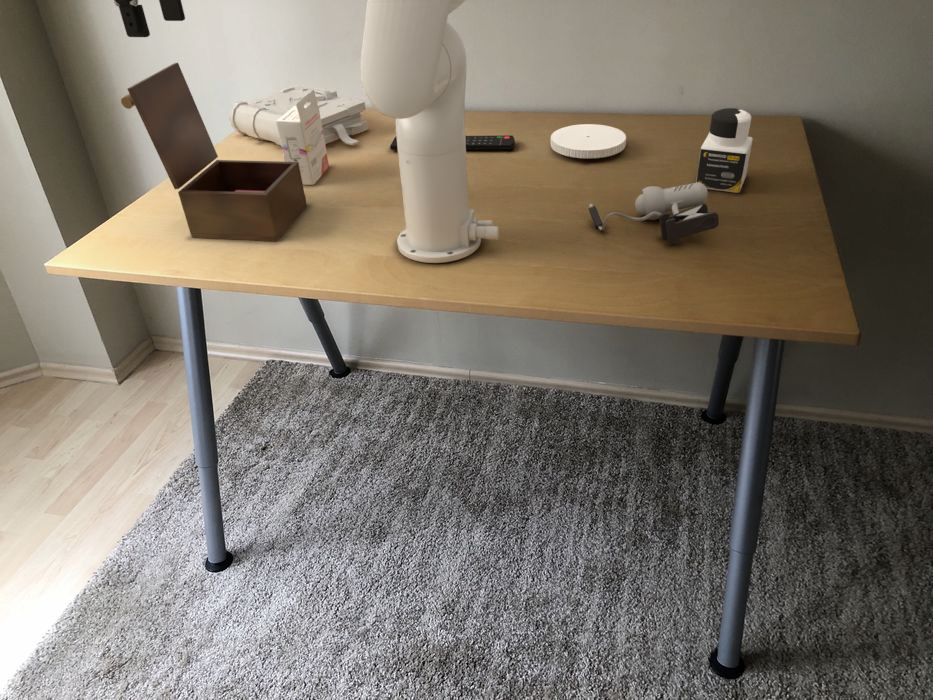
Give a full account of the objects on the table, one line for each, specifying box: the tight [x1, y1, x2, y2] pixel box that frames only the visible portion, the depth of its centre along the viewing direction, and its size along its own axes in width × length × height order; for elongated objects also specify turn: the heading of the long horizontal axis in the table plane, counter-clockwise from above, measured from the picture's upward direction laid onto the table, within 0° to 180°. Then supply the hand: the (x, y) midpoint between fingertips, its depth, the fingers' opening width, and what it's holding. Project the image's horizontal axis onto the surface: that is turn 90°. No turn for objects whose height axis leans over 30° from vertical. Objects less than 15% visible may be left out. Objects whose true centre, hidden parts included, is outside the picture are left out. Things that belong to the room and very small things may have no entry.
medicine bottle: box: [695, 107, 754, 194], centre depth 119 cm, size 7×7×12 cm
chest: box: [177, 159, 308, 242], centre depth 118 cm, size 15×13×8 cm
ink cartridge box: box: [276, 90, 330, 186], centre depth 130 cm, size 9×5×15 cm, turn 168°
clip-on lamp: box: [588, 182, 720, 246], centre depth 109 cm, size 12×6×18 cm
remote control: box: [389, 134, 516, 151], centre depth 142 cm, size 5×24×1 cm, turn 83°
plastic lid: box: [550, 123, 627, 160], centre depth 137 cm, size 14×14×2 cm
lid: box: [120, 62, 219, 190], centre depth 113 cm, size 15×13×6 cm
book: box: [229, 84, 369, 146], centre depth 150 cm, size 19×28×8 cm
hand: (157, 28), depth 104 cm, fingers open, 9 cm apart
